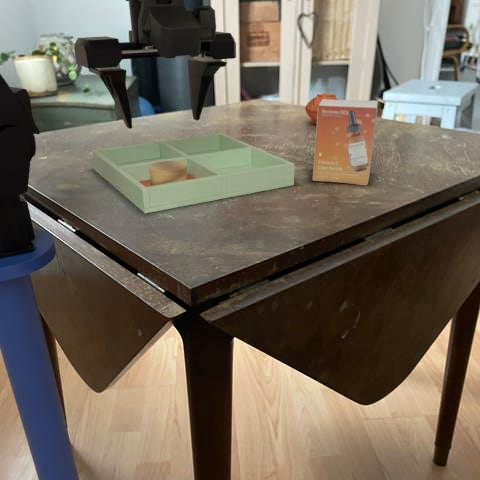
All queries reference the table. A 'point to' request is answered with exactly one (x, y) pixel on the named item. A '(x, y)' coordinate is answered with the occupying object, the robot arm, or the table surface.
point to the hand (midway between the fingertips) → (163, 123)
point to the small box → (344, 141)
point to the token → (167, 172)
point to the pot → (314, 103)
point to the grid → (192, 170)
